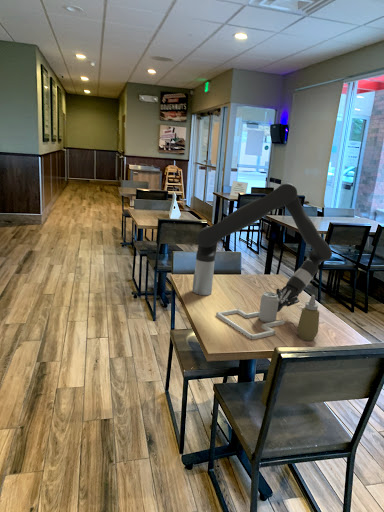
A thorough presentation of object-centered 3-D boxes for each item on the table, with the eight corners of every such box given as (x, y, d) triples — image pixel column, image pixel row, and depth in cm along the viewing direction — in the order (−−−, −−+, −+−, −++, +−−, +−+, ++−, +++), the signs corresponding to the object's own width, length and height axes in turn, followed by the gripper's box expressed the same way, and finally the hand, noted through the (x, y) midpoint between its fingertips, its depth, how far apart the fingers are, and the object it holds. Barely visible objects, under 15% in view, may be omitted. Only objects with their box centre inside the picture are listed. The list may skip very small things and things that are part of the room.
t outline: (256, 308, 180) (257, 305, 180) (294, 329, 160) (295, 326, 160) (216, 315, 168) (216, 312, 168) (251, 339, 148) (252, 336, 148)
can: (279, 320, 168) (282, 294, 165) (269, 325, 163) (273, 298, 160) (264, 315, 173) (268, 289, 170) (255, 319, 168) (258, 293, 165)
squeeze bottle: (313, 344, 148) (321, 300, 144) (293, 338, 152) (299, 295, 148) (319, 337, 155) (326, 295, 151) (299, 331, 159) (305, 290, 155)
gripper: (285, 271, 176) (261, 300, 173) (307, 280, 165) (282, 311, 162) (291, 281, 180) (268, 309, 177) (314, 290, 169) (290, 321, 166)
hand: (275, 310), depth 169 cm, fingers closed
